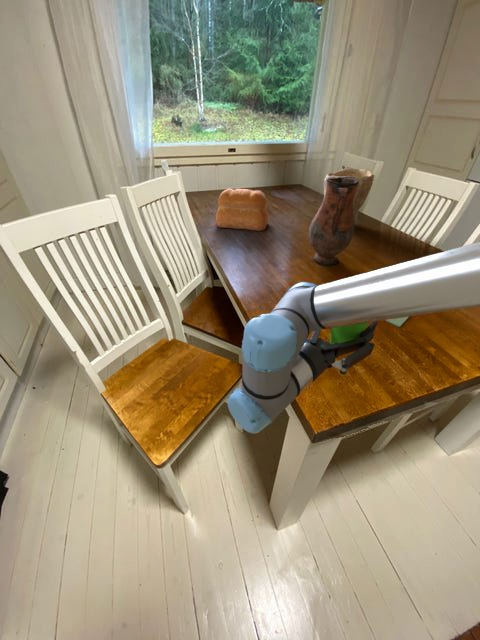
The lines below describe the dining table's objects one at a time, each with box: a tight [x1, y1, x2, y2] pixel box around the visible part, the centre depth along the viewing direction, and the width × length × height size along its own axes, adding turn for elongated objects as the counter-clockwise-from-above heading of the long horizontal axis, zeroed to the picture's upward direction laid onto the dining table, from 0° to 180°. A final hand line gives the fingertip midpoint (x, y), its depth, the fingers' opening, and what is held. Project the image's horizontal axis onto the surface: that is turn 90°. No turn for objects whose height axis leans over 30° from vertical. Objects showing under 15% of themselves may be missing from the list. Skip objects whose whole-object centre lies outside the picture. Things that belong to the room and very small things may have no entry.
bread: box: [215, 188, 269, 232], centre depth 137 cm, size 16×26×17 cm, turn 78°
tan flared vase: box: [323, 167, 375, 218], centre depth 138 cm, size 22×22×25 cm
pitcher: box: [308, 177, 359, 266], centre depth 101 cm, size 17×21×30 cm
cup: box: [329, 322, 370, 344], centre depth 62 cm, size 9×9×11 cm
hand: (356, 317), depth 64 cm, fingers closed on cup, 8 cm apart
